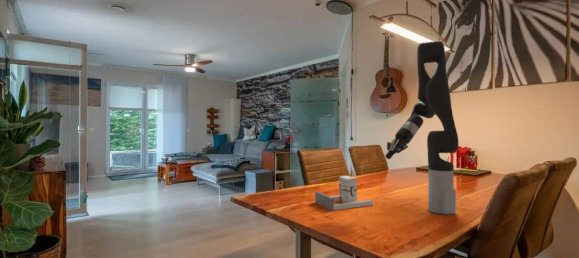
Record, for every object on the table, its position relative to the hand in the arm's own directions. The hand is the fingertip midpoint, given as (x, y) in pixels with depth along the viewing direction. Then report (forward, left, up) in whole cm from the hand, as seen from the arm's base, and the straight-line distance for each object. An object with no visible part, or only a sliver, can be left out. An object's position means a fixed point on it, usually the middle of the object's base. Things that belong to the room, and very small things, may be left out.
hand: (387, 157), depth 145 cm
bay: (-1, +24, -20) cm, 31 cm away
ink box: (0, +23, -20) cm, 30 cm away
